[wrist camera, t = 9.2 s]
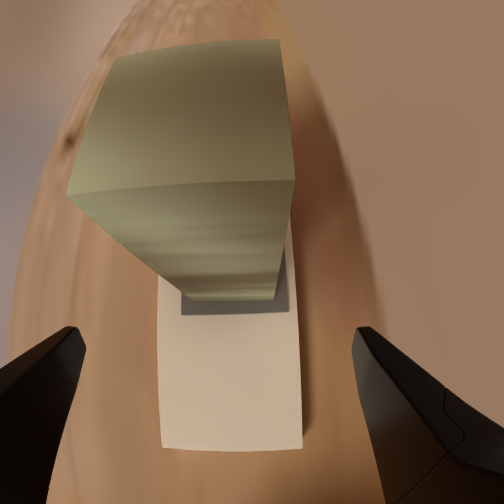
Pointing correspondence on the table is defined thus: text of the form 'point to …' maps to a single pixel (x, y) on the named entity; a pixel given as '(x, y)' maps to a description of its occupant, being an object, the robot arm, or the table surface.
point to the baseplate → (230, 369)
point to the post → (194, 165)
